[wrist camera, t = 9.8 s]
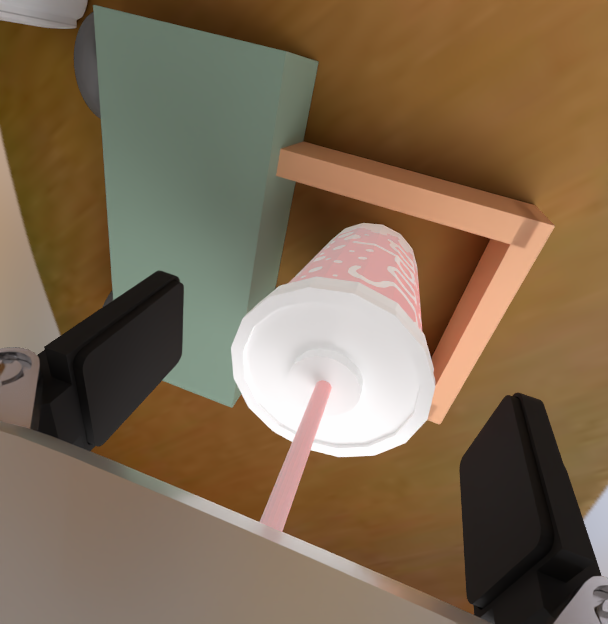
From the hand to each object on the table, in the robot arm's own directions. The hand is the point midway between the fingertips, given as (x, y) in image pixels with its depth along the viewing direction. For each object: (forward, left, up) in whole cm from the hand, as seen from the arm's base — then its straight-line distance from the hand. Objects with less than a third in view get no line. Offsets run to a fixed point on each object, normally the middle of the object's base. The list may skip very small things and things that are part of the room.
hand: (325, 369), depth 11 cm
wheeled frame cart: (+1, -3, -9) cm, 10 cm away
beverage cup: (+1, 0, -9) cm, 9 cm away
